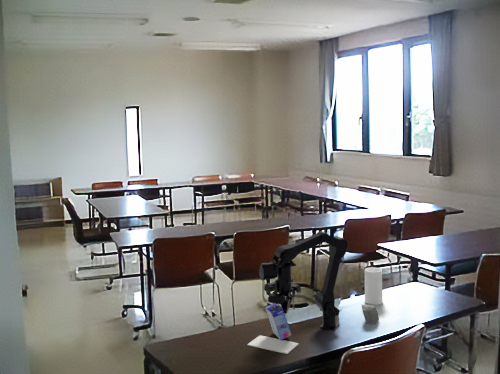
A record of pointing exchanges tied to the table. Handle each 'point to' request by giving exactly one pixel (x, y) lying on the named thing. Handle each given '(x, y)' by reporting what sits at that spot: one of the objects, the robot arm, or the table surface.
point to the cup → (373, 285)
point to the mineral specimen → (370, 314)
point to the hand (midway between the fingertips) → (285, 313)
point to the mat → (273, 344)
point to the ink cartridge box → (278, 321)
